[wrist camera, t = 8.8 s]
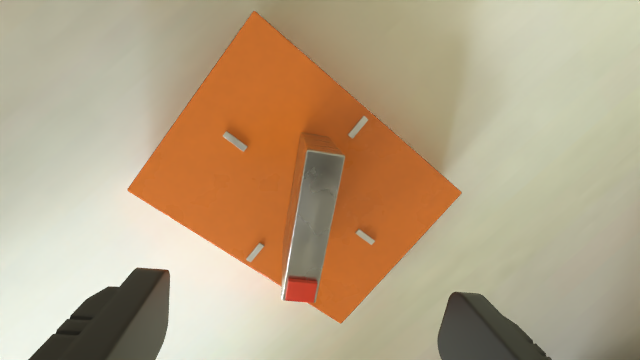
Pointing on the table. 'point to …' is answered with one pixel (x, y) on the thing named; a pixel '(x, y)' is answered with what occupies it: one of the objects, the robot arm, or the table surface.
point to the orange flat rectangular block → (290, 168)
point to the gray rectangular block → (310, 216)
